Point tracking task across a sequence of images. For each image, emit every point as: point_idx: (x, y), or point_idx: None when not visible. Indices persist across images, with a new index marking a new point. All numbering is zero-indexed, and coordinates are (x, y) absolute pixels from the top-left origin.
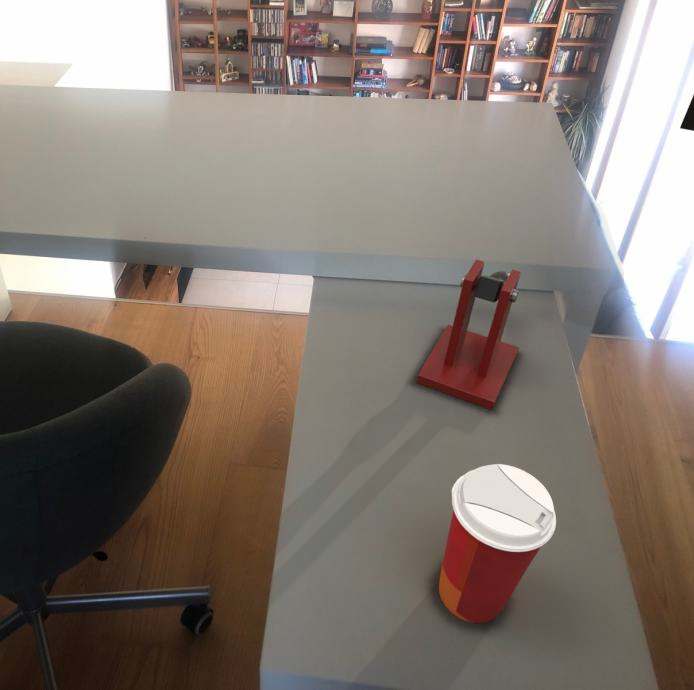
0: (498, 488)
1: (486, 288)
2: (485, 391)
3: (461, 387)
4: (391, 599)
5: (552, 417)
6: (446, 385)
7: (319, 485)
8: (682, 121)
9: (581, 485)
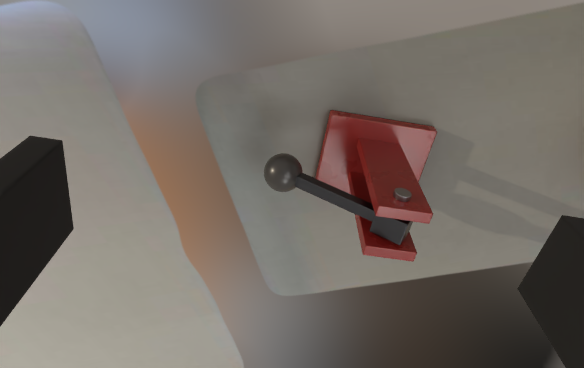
0: None
1: (407, 230)
2: (422, 141)
3: (420, 164)
4: None
5: (431, 64)
6: (419, 177)
7: None
8: (523, 297)
9: (534, 29)
